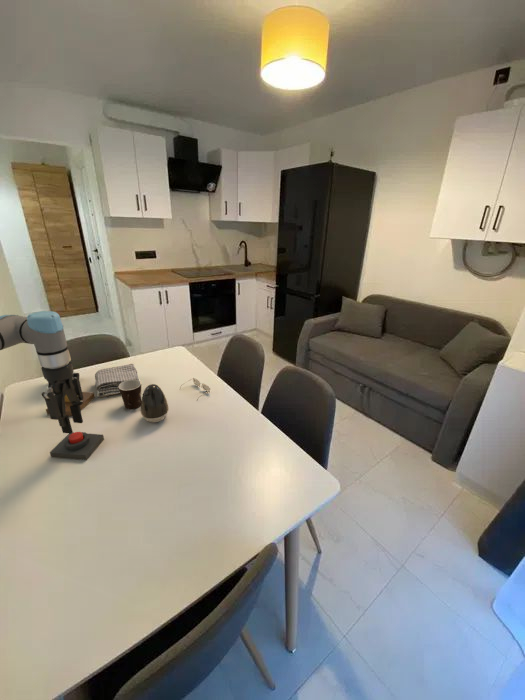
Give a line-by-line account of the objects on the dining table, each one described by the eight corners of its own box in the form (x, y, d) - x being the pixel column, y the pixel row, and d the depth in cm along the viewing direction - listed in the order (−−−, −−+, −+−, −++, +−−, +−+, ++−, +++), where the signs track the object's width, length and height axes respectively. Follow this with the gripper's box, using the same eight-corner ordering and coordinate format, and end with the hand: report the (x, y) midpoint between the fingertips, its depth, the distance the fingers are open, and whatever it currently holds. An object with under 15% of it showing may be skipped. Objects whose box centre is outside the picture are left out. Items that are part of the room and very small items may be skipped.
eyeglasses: (211, 394, 133) (210, 387, 131) (197, 402, 128) (196, 395, 126) (193, 383, 141) (192, 376, 139) (179, 390, 136) (177, 383, 134)
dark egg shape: (136, 423, 112) (130, 389, 106) (152, 408, 121) (148, 376, 115) (159, 428, 110) (155, 394, 104) (174, 413, 119) (171, 381, 113)
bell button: (66, 443, 96) (65, 439, 95) (74, 435, 99) (73, 431, 98) (78, 444, 95) (77, 440, 95) (86, 436, 99) (85, 432, 98)
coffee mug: (130, 398, 127) (127, 378, 123) (148, 401, 126) (145, 381, 122) (112, 413, 117) (108, 392, 113) (131, 417, 115) (128, 395, 111)
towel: (96, 383, 137) (93, 368, 134) (137, 375, 146) (135, 361, 143) (98, 399, 125) (94, 383, 122) (142, 389, 134) (140, 374, 131)
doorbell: (51, 457, 94) (48, 448, 93) (71, 436, 104) (69, 427, 102) (87, 460, 94) (84, 450, 92) (104, 439, 103) (102, 430, 101)
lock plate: (74, 416, 114) (72, 411, 113) (47, 414, 114) (45, 409, 113) (95, 397, 127) (94, 392, 126) (70, 395, 127) (69, 390, 126)
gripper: (64, 351, 94) (79, 410, 103) (19, 377, 78) (42, 444, 87) (86, 352, 94) (99, 412, 103) (46, 379, 78) (66, 446, 87)
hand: (73, 427), depth 95 cm, fingers open, 5 cm apart
